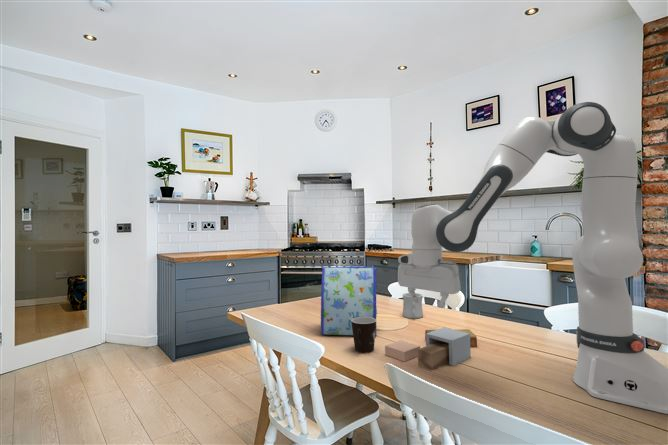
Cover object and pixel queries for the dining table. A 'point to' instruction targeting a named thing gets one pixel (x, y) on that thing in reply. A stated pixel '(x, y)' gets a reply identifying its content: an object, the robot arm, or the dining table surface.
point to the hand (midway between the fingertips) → (427, 304)
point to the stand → (402, 350)
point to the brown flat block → (472, 336)
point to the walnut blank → (434, 355)
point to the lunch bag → (346, 297)
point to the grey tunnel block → (452, 343)
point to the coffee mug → (364, 334)
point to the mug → (412, 306)
